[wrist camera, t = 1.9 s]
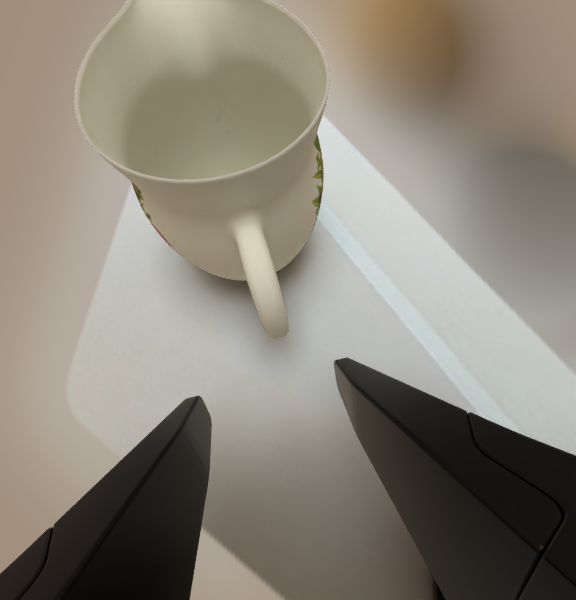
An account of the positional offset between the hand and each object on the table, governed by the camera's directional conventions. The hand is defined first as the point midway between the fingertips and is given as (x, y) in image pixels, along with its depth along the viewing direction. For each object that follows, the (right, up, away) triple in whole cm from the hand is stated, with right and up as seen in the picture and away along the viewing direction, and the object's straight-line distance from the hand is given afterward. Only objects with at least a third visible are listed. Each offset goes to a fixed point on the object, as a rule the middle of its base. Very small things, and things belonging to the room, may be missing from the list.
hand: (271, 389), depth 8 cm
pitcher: (-2, +7, +16) cm, 17 cm away
